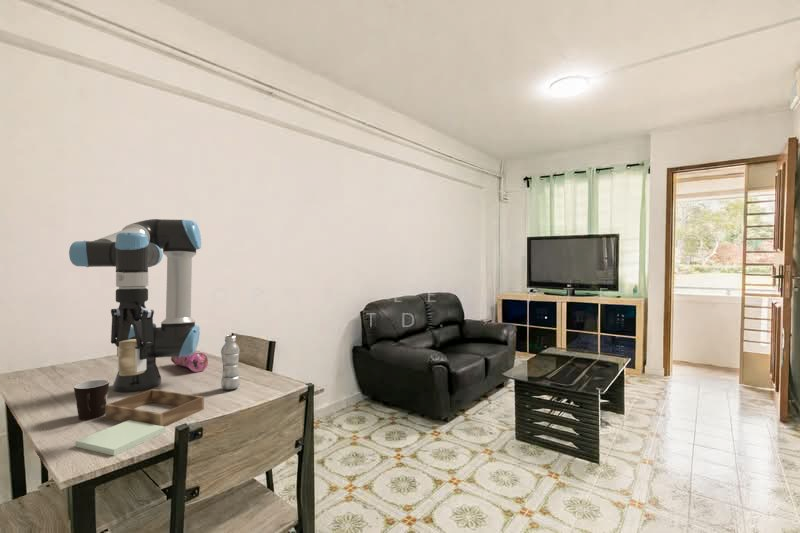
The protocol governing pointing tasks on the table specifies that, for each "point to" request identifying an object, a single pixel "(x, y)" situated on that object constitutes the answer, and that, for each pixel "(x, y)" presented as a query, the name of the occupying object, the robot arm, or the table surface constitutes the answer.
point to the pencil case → (192, 361)
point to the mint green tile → (120, 437)
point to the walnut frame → (126, 411)
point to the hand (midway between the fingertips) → (132, 369)
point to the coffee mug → (91, 399)
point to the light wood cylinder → (127, 358)
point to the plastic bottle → (230, 363)
